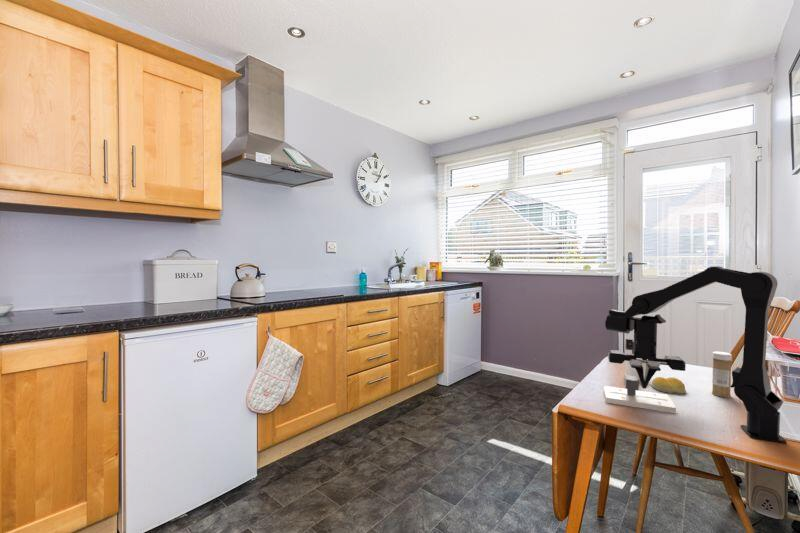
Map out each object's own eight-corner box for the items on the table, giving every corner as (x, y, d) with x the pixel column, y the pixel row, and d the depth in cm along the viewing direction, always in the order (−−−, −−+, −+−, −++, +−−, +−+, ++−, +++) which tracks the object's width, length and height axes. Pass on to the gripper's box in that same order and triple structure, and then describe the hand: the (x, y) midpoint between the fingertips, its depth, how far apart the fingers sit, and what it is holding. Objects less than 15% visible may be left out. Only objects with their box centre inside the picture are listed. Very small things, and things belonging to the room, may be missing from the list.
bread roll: (647, 384, 126) (648, 372, 126) (678, 387, 123) (678, 375, 123) (657, 392, 118) (657, 380, 118) (690, 396, 115) (690, 383, 115)
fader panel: (676, 413, 102) (676, 407, 102) (606, 402, 109) (606, 397, 109) (667, 399, 112) (667, 394, 112) (603, 390, 119) (603, 385, 119)
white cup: (627, 379, 130) (627, 359, 130) (621, 373, 137) (621, 354, 136) (649, 381, 128) (649, 361, 128) (642, 375, 135) (643, 356, 134)
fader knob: (638, 397, 108) (638, 381, 108) (625, 395, 110) (626, 379, 110) (636, 392, 112) (636, 376, 112) (624, 390, 114) (624, 375, 114)
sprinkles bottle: (732, 395, 115) (734, 353, 115) (727, 398, 112) (729, 355, 112) (714, 391, 119) (715, 350, 118) (709, 394, 116) (710, 352, 116)
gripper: (677, 334, 112) (675, 384, 113) (607, 328, 121) (606, 375, 121) (686, 341, 102) (685, 397, 103) (609, 335, 111) (608, 386, 111)
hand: (643, 388), depth 110 cm, fingers closed
